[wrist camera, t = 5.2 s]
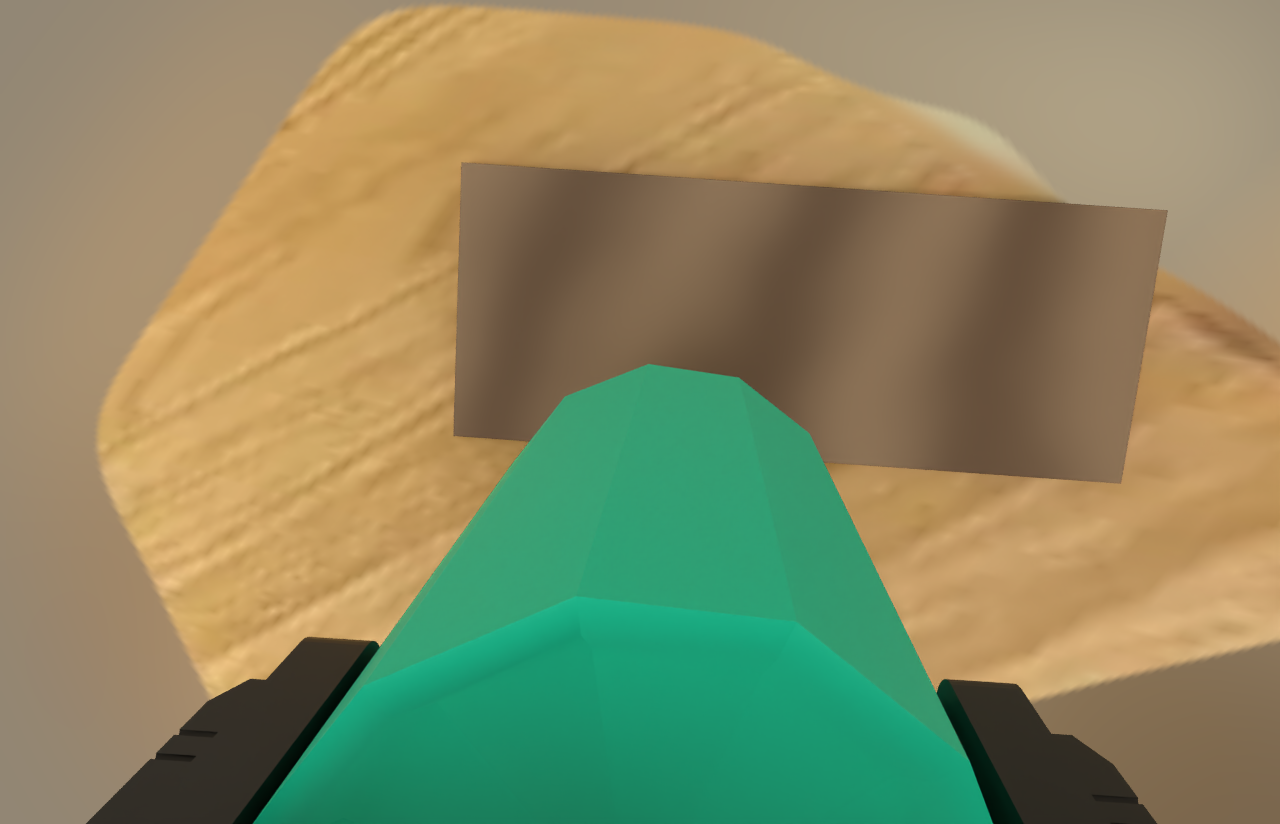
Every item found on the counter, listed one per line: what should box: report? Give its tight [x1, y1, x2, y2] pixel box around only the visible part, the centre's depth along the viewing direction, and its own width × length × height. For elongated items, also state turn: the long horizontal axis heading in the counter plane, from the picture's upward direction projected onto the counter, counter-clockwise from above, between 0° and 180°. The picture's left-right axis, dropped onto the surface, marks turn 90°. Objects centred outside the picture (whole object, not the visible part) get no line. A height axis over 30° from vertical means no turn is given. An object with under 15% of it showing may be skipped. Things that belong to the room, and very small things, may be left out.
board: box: [454, 163, 1167, 484], centre depth 30 cm, size 20×8×1 cm, turn 86°
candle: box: [253, 364, 993, 824], centre depth 12 cm, size 6×6×12 cm
